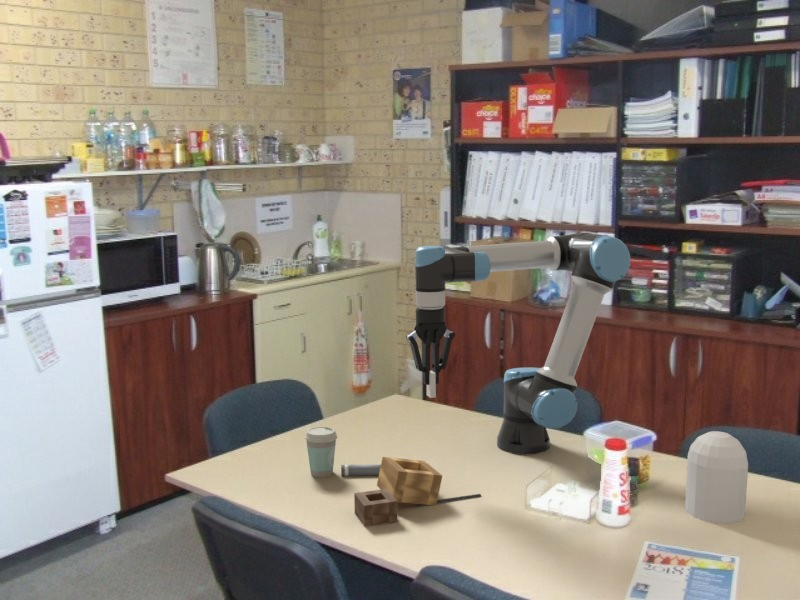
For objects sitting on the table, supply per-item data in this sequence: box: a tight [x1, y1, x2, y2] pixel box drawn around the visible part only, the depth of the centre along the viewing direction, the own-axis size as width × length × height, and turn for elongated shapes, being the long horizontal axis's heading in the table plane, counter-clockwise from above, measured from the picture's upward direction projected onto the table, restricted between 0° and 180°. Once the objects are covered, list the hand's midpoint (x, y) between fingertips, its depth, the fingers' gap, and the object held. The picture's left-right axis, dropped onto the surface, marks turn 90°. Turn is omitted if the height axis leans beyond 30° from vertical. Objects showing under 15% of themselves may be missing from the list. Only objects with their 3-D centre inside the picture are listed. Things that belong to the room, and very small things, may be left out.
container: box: [684, 430, 749, 525], centre depth 203 cm, size 13×13×20 cm
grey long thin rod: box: [417, 493, 482, 507], centre depth 212 cm, size 17×1×1 cm, turn 109°
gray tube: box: [340, 464, 381, 477], centre depth 230 cm, size 3×3×18 cm
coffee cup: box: [304, 426, 338, 478], centre depth 230 cm, size 9×8×12 cm
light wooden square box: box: [376, 456, 443, 506], centre depth 213 cm, size 12×12×8 cm
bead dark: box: [353, 489, 398, 527], centre depth 202 cm, size 8×8×5 cm
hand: (431, 396), depth 224 cm, fingers closed
